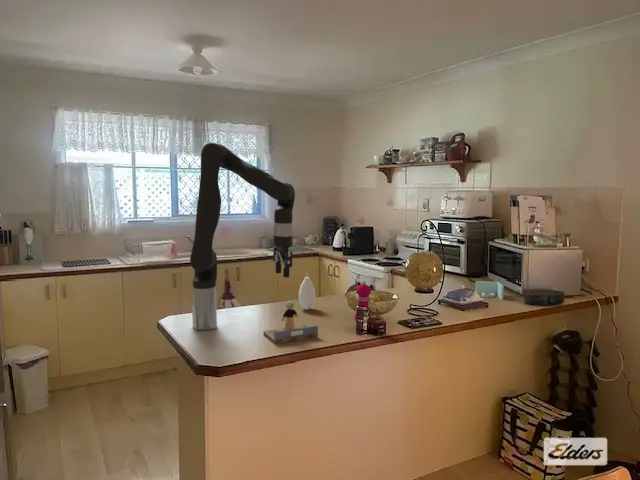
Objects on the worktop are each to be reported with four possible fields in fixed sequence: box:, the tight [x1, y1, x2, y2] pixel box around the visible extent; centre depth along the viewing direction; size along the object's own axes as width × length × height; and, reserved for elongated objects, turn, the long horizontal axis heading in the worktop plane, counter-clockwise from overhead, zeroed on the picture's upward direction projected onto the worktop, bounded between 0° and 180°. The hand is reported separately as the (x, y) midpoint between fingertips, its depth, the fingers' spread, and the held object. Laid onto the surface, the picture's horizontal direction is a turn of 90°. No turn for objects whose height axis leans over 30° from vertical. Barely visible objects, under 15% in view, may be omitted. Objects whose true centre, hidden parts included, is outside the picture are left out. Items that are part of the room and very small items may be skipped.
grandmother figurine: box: [281, 300, 299, 330], centre depth 189 cm, size 8×4×13 cm, turn 144°
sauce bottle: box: [298, 273, 316, 311], centre depth 229 cm, size 8×8×18 cm
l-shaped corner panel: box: [475, 280, 505, 301], centre depth 257 cm, size 12×12×8 cm
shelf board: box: [262, 324, 319, 345], centre depth 190 cm, size 18×12×2 cm, turn 117°
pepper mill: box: [354, 280, 372, 322], centre depth 200 cm, size 7×7×20 cm
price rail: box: [274, 325, 319, 340], centre depth 185 cm, size 18×1×3 cm, turn 117°
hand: (282, 275), depth 191 cm, fingers open, 8 cm apart
